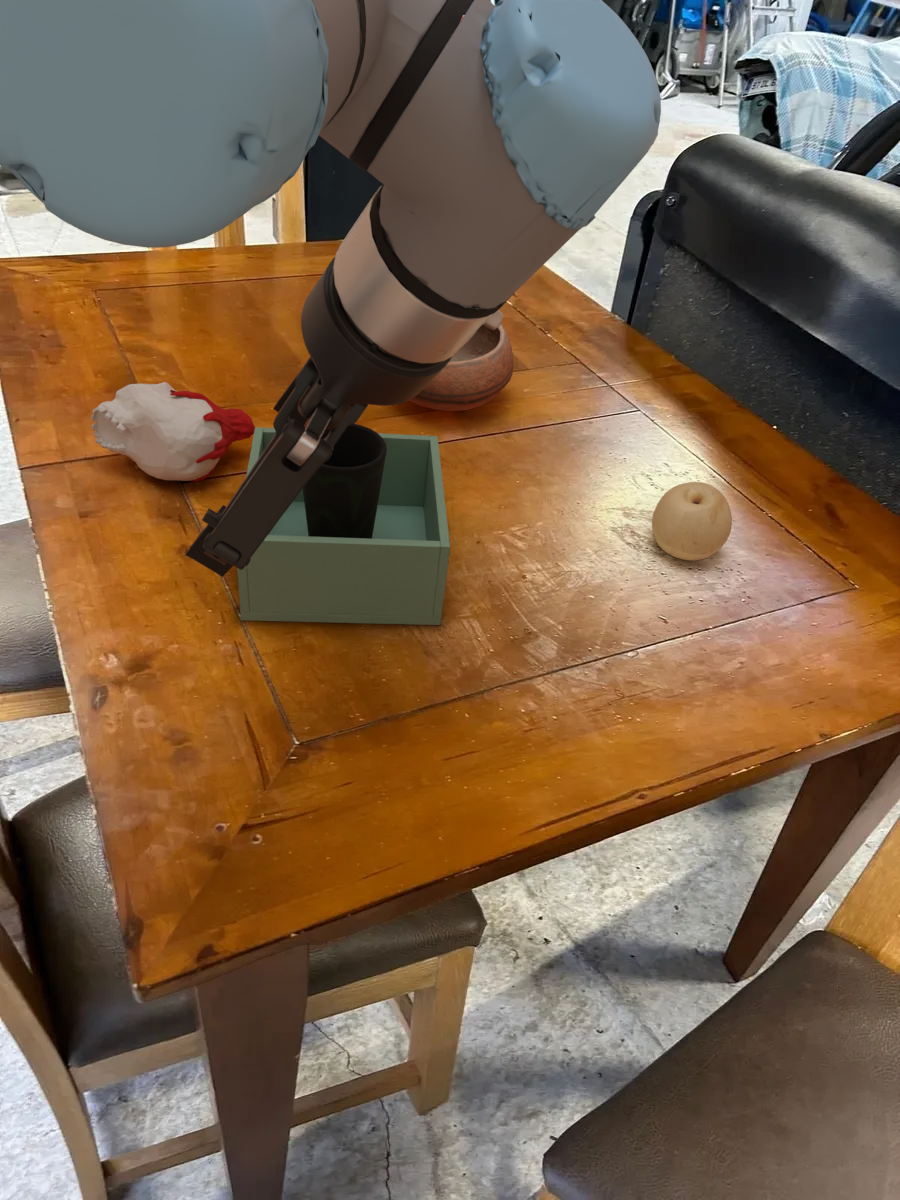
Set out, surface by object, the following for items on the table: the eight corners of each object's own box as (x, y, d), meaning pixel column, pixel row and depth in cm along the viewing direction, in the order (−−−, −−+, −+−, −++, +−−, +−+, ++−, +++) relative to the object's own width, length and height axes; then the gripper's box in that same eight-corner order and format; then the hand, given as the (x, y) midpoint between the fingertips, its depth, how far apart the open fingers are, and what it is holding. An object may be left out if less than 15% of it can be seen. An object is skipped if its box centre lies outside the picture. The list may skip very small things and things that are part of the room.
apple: (732, 535, 94) (759, 506, 87) (684, 586, 92) (708, 560, 85) (676, 487, 95) (698, 455, 88) (628, 536, 93) (646, 507, 86)
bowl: (359, 405, 108) (362, 327, 101) (417, 357, 119) (423, 284, 112) (476, 444, 103) (487, 365, 97) (525, 390, 115) (537, 317, 108)
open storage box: (240, 620, 78) (234, 539, 72) (259, 503, 91) (255, 426, 85) (440, 625, 80) (450, 546, 74) (429, 510, 93) (437, 435, 87)
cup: (358, 588, 81) (363, 478, 73) (284, 563, 82) (281, 453, 74) (393, 543, 86) (400, 436, 78) (322, 520, 88) (323, 413, 80)
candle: (90, 458, 93) (220, 436, 102) (138, 511, 87) (271, 482, 96) (86, 377, 87) (223, 361, 97) (136, 428, 81) (277, 406, 90)
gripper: (372, 535, 38) (219, 663, 55) (523, 210, 51) (362, 393, 68) (220, 436, 36) (108, 601, 53) (419, 121, 49) (278, 334, 66)
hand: (251, 484), depth 61 cm, fingers open, 13 cm apart
